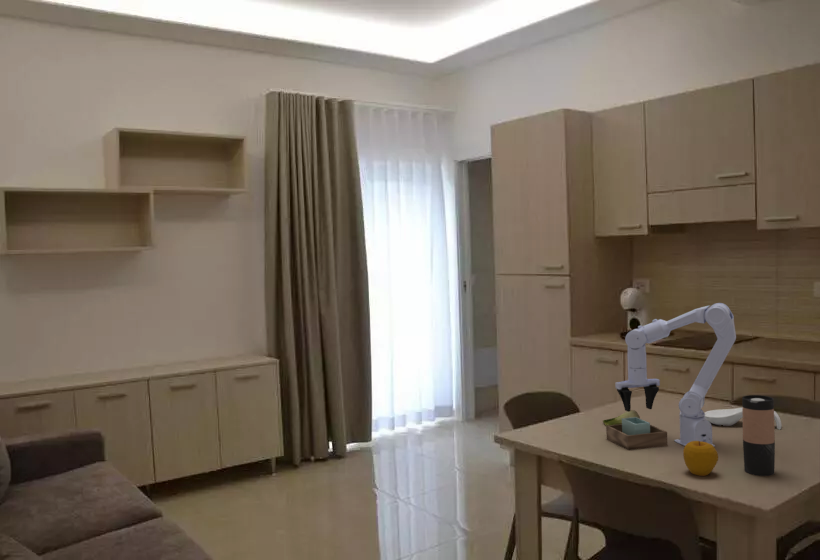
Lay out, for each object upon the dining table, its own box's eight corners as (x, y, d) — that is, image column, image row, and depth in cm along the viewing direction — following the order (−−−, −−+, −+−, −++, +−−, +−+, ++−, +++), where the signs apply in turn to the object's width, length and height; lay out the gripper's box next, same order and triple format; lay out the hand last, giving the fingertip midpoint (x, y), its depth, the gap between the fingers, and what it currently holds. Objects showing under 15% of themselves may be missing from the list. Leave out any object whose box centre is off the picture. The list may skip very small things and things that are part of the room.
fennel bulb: (633, 415, 245) (601, 423, 243) (634, 405, 242) (601, 412, 241) (641, 426, 240) (608, 434, 239) (642, 415, 237) (608, 423, 236)
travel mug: (765, 467, 191) (764, 394, 190) (781, 476, 183) (780, 400, 182) (738, 468, 191) (736, 395, 190) (752, 477, 183) (751, 401, 182)
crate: (667, 446, 214) (667, 431, 214) (628, 450, 211) (627, 436, 211) (644, 435, 227) (643, 421, 226) (606, 439, 224) (606, 425, 224)
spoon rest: (701, 427, 235) (700, 405, 235) (705, 418, 245) (704, 398, 245) (780, 433, 223) (780, 411, 223) (782, 424, 234) (781, 403, 233)
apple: (723, 473, 187) (722, 440, 187) (710, 481, 181) (709, 447, 181) (691, 467, 194) (691, 435, 193) (678, 474, 188) (677, 442, 187)
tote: (636, 435, 223) (636, 417, 223) (650, 442, 215) (649, 422, 215) (622, 437, 222) (621, 418, 222) (635, 443, 214) (635, 424, 214)
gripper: (650, 363, 228) (651, 404, 228) (609, 367, 224) (611, 409, 225) (663, 366, 221) (664, 409, 221) (621, 370, 217) (623, 413, 218)
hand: (638, 409), depth 223 cm, fingers open, 7 cm apart
